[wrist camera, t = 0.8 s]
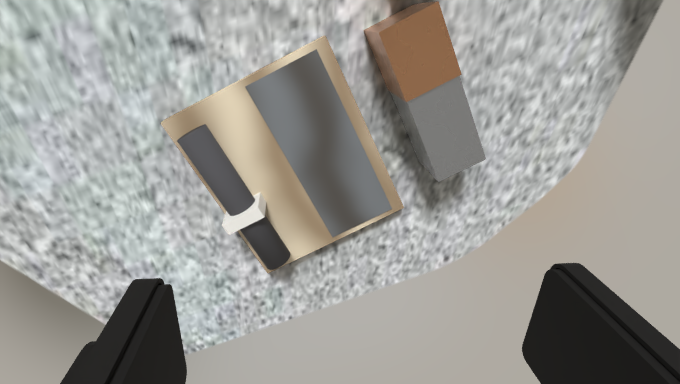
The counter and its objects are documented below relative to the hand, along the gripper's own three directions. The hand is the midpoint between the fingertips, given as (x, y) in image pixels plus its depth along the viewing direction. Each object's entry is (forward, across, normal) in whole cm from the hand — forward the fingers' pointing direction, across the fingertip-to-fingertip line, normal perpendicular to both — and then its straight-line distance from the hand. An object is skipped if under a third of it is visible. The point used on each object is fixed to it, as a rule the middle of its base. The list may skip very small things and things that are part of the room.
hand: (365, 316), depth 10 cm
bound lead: (+24, +6, +7) cm, 26 cm away
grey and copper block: (+24, -8, -2) cm, 26 cm away
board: (+24, +2, +5) cm, 24 cm away
